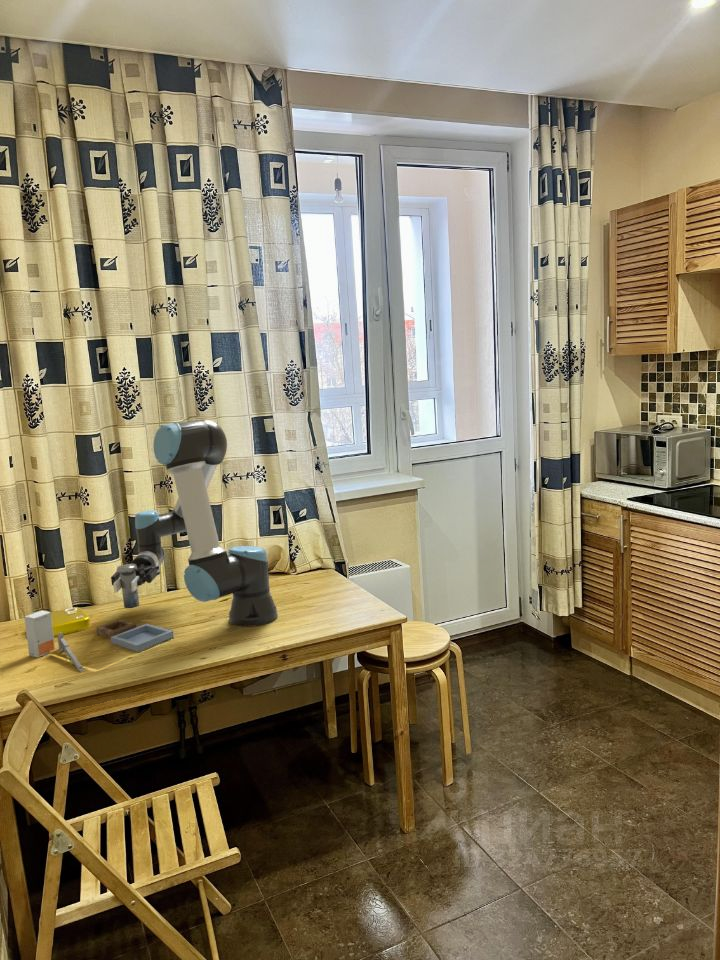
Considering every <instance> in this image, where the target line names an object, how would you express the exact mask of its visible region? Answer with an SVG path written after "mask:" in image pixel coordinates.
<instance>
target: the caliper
mask: <svg viewBox="0 0 720 960" xmlns="http://www.w3.org/2000/svg"><path fill="white" fill-rule="evenodd" d="M57 643H58V650H59V651H60V652H61V653H64V654H66V655H67V656H68V658H69V660H70V661H71V662H72V664H73V666H75V668H76V670H77V671H78V672H79V673H82V672H85V670H84V667H83V665H82V664H81V662H80V661H79V659H78V658H77V656H76V655H75V654H74V652H73V651H72V649H71V648H70V645H69V643H68V642H67V641H66V640H65V638H64V635H63V634H62V632H60V633H58V636H57Z"/></svg>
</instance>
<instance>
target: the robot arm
mask: <svg viewBox="0 0 720 960" xmlns="http://www.w3.org/2000/svg"><path fill="white" fill-rule="evenodd" d="M152 448H153V453H154V457H155V459H156V460H157V462H158V463H159V464H161V465H163V466H165V469H166V472H167V473H170V474H171V475H172V476H173V479H174V484H175V488H176V492H177V496H178V498H177V500H176V503H175V505H174V507H173V509H172V511H170V512H166V513H161V514H159V513H158V511H156V510H154V509H153V510H150V509H148V510H143V511H139V512H137V513H136V514H135V517H134V519H135V520H134V525H135V526H134V527H135V533H136V539H137V549H138V554H137V555H135V557H134V558H133V560H131V562H130V563H129V564H136V565H137V570H136V571H135V573H136V577H135V579H134V580H133V581H132V582H131V587H132V591H135V590H136V589H138V588H139V587H140V586H142V585H145V583H147V584H151V583H152V582H153V581H154V579H156V578H157V576H159V575H161V570H160V569H161V568H160V566H161V565H162V564H163V562H164V560H165V558H166V551H165V549H164V548H163V546H162V538H164V537H167V536H171V535H175V534H180V533H183V532H184V533H185V532H186V534H187V539H188V543H189V547H190V551H191V554H190V555H189V557H188V559H187V562H188V566H187V567H186V568H185V569H184V574H183V579H184V584H185V587H186V589H187V591H188V592H189V594H190V595H191V596H192V597H193V598H194V599H195V600H197V601H198V602H203V603H205V602H210V601H216V600H218V599H219V598H223V597H225V596H229V595H232V599H231V606H230V610H229V612H228V618H229V623H230V624H232V625H233V626H238V625H239V626H238V627H254V625H256V626H262V625H265V624H264V623H266V624H268V622H269V623H272V622H273V621H274V620H276V619H277V618H278V609H277V607H276V606H277V605H275V601H274V599H273V597H272V594H271V589H270V579H269V560H268V556H267V551H266V550H265V549H264V548H262V547H260V546H254V545H253V546H252V545H250V546H249V545H241V546H232V547H230V548H229V550H228V552H227V549H225V548H224V547H222V546H221V544H220V540H219V536H218V535H219V534H218V531H217V527H216V524H215V520H214V515H213V509H212V506H211V503H210V502H211V501H210V497H209V494H208V491H207V490H208V487H209V484H210V482H211V480H212V478H213V476H214V474H215V471H216V469H217V467H218V466H219V465H221V464H222V463H223V461H224V459H225V457H226V453H227V450H228V440H227V436H226V434H225V432H224V430H223V428H222V427H221V426H220V425H218V424H217V422H214V421H212V420H210V419H198V420H191V421H181V422H172V423H168V424H163V425H161V426H160V427H159V428H158V429H157V430H156V432H155V435H154V438H153V447H152ZM110 582H111V586H113V591H114V593H118V592H119V591H120V590H122V587H121V578H120V573H118V571H117V570H116V572H114V573H113V575H112V576H110ZM261 624H262V625H261Z"/></svg>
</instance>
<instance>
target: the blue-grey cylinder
mask: <svg viewBox="0 0 720 960" xmlns="http://www.w3.org/2000/svg"><path fill="white" fill-rule="evenodd" d="M136 570H137V565H136V564H130V563H126V564H121V565H119V566H117V568H116V571H118V573H120V578H121V587H122V588H121V592H122V593H121V594H122V602H123V603H122V604H123V608H124V609H133V608H137V607H139V606H140V600H139V598H140V597H139V592H138V591H139V589H138V588H137V589H136V590H135V591H132V587H131V582H132V581H133V580H134V579H135V577H136V573H135V571H136Z"/></svg>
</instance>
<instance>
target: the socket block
mask: <svg viewBox="0 0 720 960" xmlns="http://www.w3.org/2000/svg"><path fill="white" fill-rule="evenodd" d="M136 627H137V623H135V622H132V621H128V620H125V619H121V618H119V619H116V620H114V621H111V622H108V623H105V624H102V625H100V626H96V635H100V636H103V637H105V638H108V639H111V637H112V636H115V635H118V634H120V633H123V632H126V631H128V630H131V629H134V628H136Z"/></svg>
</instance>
